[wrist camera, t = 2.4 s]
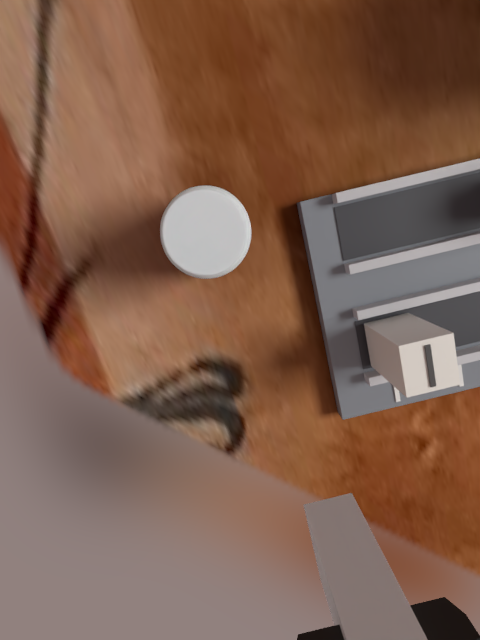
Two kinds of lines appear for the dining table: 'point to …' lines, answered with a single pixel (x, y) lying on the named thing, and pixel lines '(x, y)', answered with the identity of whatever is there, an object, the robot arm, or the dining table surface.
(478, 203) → the console
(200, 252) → the pill bottle
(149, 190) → the dining table surface
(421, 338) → the fader cap
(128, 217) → the dining table surface
